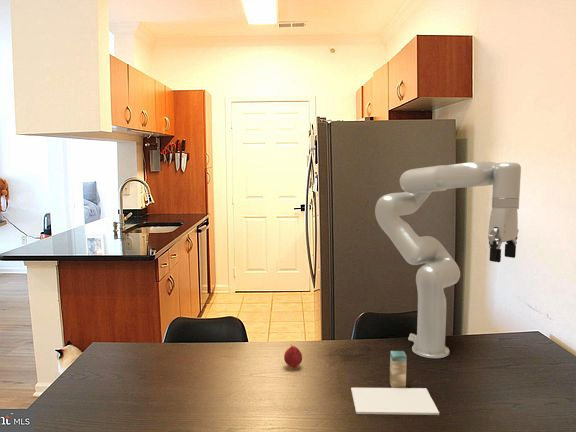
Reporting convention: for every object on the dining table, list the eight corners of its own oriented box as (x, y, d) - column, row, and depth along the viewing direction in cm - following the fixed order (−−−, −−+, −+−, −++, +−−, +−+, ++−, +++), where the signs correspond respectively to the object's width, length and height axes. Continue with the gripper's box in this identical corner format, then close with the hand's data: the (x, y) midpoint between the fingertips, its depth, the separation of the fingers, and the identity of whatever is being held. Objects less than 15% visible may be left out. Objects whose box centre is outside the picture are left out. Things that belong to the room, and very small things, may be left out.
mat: (356, 413, 134) (356, 411, 134) (351, 389, 148) (351, 387, 148) (439, 414, 133) (439, 412, 133) (426, 390, 147) (426, 388, 147)
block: (392, 388, 148) (392, 356, 147) (389, 382, 152) (390, 351, 151) (405, 388, 148) (406, 356, 147) (402, 382, 152) (403, 351, 151)
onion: (304, 365, 164) (304, 342, 163) (299, 373, 159) (298, 348, 158) (287, 363, 166) (287, 340, 165) (281, 370, 161) (281, 346, 160)
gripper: (506, 201, 160) (503, 253, 162) (479, 204, 148) (476, 261, 151) (530, 202, 154) (527, 257, 156) (504, 206, 143) (501, 265, 145)
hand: (502, 259), depth 153 cm, fingers open, 9 cm apart
